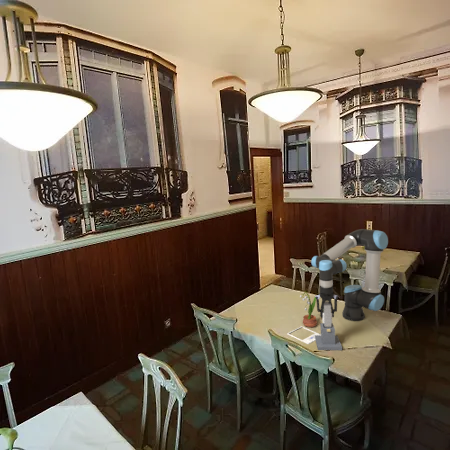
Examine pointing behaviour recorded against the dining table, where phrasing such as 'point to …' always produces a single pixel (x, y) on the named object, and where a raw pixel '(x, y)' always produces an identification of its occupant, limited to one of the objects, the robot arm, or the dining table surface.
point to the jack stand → (328, 339)
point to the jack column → (327, 314)
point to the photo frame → (308, 339)
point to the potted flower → (309, 319)
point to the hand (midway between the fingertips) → (327, 322)
